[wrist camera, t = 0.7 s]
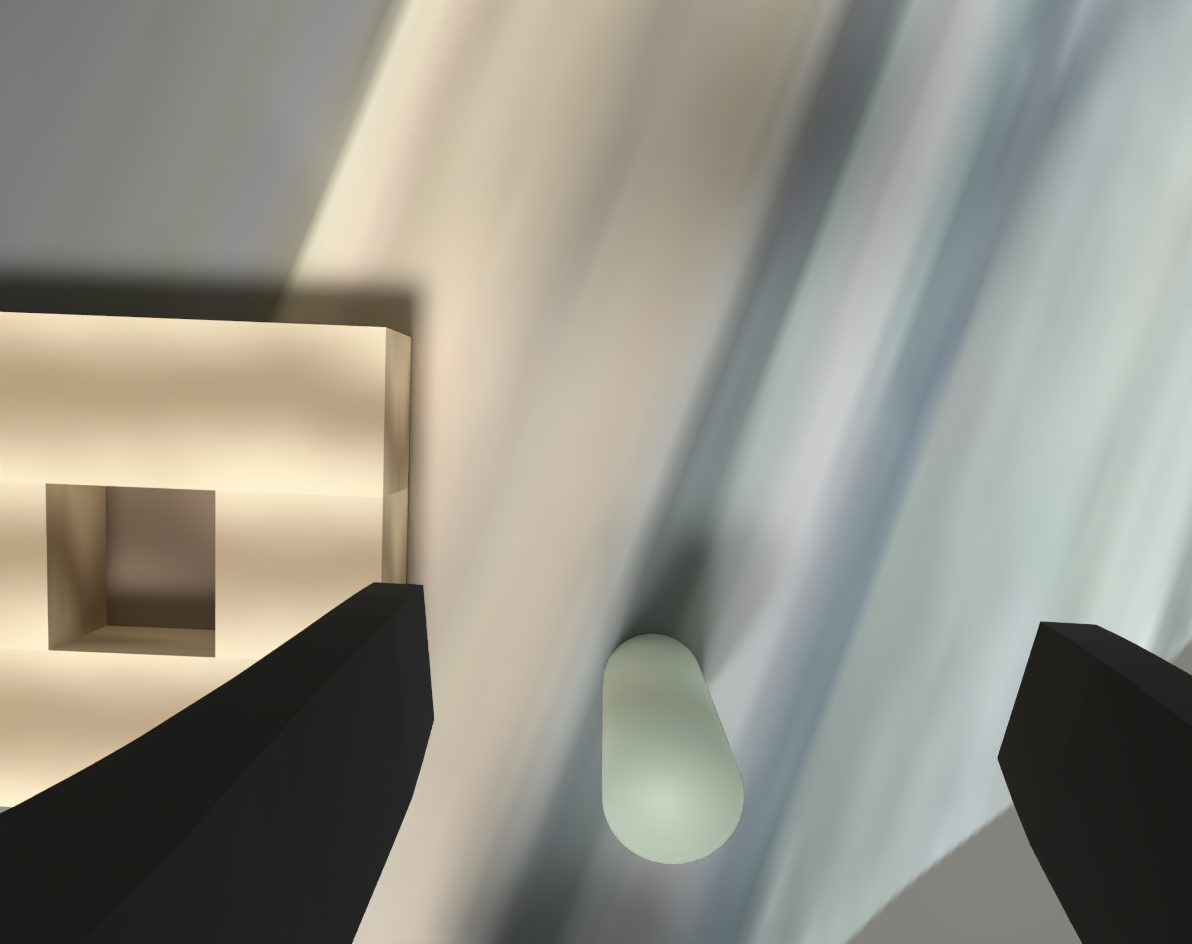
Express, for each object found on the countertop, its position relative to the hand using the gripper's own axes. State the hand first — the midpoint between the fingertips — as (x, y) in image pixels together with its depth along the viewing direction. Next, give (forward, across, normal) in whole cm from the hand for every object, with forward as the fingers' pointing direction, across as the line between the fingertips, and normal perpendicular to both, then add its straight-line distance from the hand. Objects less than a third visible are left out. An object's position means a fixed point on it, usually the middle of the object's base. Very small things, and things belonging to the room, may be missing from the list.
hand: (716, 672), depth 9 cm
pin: (+14, 0, +12) cm, 19 cm away
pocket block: (+15, +17, +8) cm, 24 cm away
